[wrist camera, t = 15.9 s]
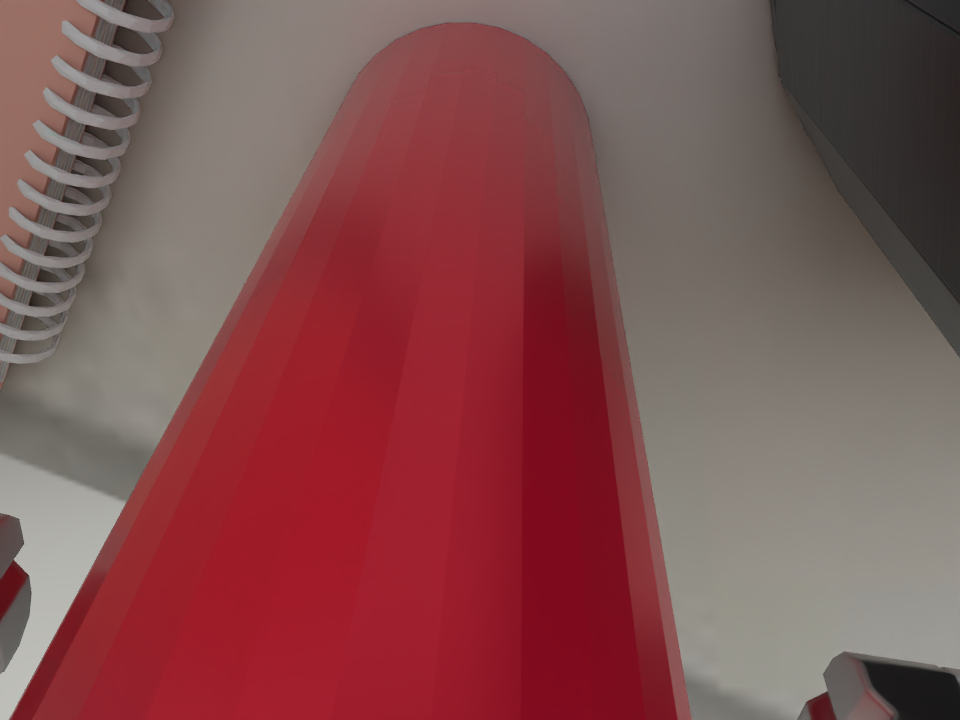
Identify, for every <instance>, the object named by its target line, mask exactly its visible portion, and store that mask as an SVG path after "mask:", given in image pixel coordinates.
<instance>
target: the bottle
mask: <svg viewBox="0 0 960 720" xmlns="http://www.w3.org/2000/svg"><path fill="white" fill-rule="evenodd" d="M9 720H691V714H690V708H689V702H688V696H687V691H686V685H685V679H684V673H683V667H682V661H681V656H680V650H679V644H678V638H677V632H676V627H675V621H674V615H673V609H672V603H671V597H670V592H669V586H668V580H667V574H666V568H665V562H664V557H663V551H662V545H661V539H660V533H659V527H658V522H657V516H656V510H655V504H654V498H653V492H652V487H651V481H650V475H649V469H648V463H647V457H646V452H645V446H644V440H643V434H642V428H641V422H640V417H639V411H638V405H637V399H636V393H635V387H634V382H633V376H632V370H631V364H630V358H629V352H628V347H627V341H626V335H625V329H624V323H623V317H622V312H621V306H620V300H619V294H618V288H617V282H616V277H615V271H614V265H613V259H612V253H611V247H610V242H609V236H608V230H607V224H606V218H605V212H604V207H603V201H602V195H601V189H600V183H599V177H598V172H597V166H596V160H595V154H594V148H593V142H592V137H591V131H590V125H589V119H588V116H587V113H586V111H585V108H584V105H583V103H582V100H581V97H580V95H579V93H578V91H577V90H576V88H575V87H574V85H573V84H572V82H571V80H570V79H569V77H568V76H567V74H566V72H565V71H564V70H563V69H562V68H561V67H560V66H559V65H558V64H557V63H556V62H555V61H554V60H553V59H552V58H551V57H550V56H549V55H548V54H547V53H546V52H544V51H543V50H541V49H540V48H538V47H537V46H535V45H534V44H533V43H531V42H530V41H528V40H527V39H525V38H523V37H520V36H518V35H516V34H513V33H511V32H509V31H506V30H504V29H501V28H498V27H493V26H487V25H482V24H477V23H445V24H440V25H435V26H431V27H426V28H422V29H419V30H417V31H414V32H412V33H410V34H408V35H406V36H403V37H401V38H399V39H397V40H395V41H394V42H393V43H391V44H390V45H388V46H387V47H386V48H384V49H383V50H382V51H380V52H379V53H378V54H376V55H375V56H374V57H373V58H372V60H371V61H370V62H369V63H368V64H367V65H366V66H365V67H364V69H363V70H362V71H361V72H360V73H359V74H358V76H357V78H356V80H355V81H354V83H353V85H352V87H351V89H350V90H349V92H348V94H347V96H346V98H345V99H344V101H343V103H342V105H341V107H340V109H339V110H338V112H337V114H336V116H335V118H334V120H333V122H332V123H331V125H330V127H329V129H328V131H327V133H326V135H325V136H324V138H323V140H322V142H321V144H320V146H319V147H318V149H317V151H316V153H315V155H314V157H313V159H312V160H311V162H310V164H309V166H308V168H307V170H306V172H305V173H304V175H303V177H302V179H301V181H300V183H299V184H298V186H297V188H296V190H295V192H294V194H293V196H292V197H291V199H290V201H289V203H288V205H287V207H286V209H285V210H284V212H283V214H282V216H281V218H280V220H279V221H278V223H277V225H276V227H275V229H274V231H273V233H272V234H271V236H270V238H269V240H268V242H267V244H266V246H265V247H264V249H263V251H262V253H261V255H260V257H259V258H258V260H257V262H256V264H255V266H254V268H253V270H252V271H251V273H250V275H249V277H248V279H247V281H246V283H245V284H244V286H243V288H242V290H241V292H240V294H239V295H238V297H237V299H236V301H235V303H234V305H233V307H232V308H231V310H230V312H229V314H228V316H227V318H226V320H225V321H224V323H223V325H222V327H221V329H220V331H219V332H218V334H217V336H216V338H215V340H214V342H213V344H212V345H211V347H210V349H209V351H208V353H207V355H206V356H205V358H204V360H203V362H202V364H201V366H200V368H199V369H198V371H197V373H196V375H195V377H194V379H193V381H192V382H191V384H190V386H189V388H188V390H187V392H186V393H185V395H184V397H183V399H182V401H181V403H180V405H179V406H178V408H177V410H176V412H175V414H174V416H173V418H172V419H171V421H170V423H169V425H168V427H167V429H166V430H165V432H164V434H163V436H162V438H161V440H160V442H159V443H158V445H157V447H156V449H155V451H154V453H153V455H152V456H151V458H150V460H149V462H148V464H147V466H146V467H145V469H144V471H143V473H142V475H141V477H140V479H139V480H138V482H137V484H136V486H135V488H134V490H133V492H132V493H131V495H130V497H129V499H128V501H127V503H126V504H125V506H124V508H123V510H122V512H121V514H120V516H119V518H118V519H117V521H116V523H115V525H114V527H113V529H112V530H111V532H110V534H109V536H108V538H107V540H106V541H105V543H104V545H103V547H102V549H101V551H100V553H99V554H98V556H97V558H96V560H95V562H94V564H93V566H92V568H91V569H90V571H89V573H88V575H87V577H86V578H85V580H84V582H83V584H82V586H81V588H80V590H79V591H78V593H77V595H76V597H75V599H74V601H73V603H72V604H71V606H70V608H69V610H68V612H67V614H66V616H65V618H64V619H63V621H62V623H61V625H60V627H59V629H58V630H57V632H56V634H55V636H54V638H53V640H52V641H51V643H50V645H49V647H48V649H47V651H46V652H45V654H44V656H43V658H42V660H41V662H40V664H39V665H38V667H37V669H36V671H35V673H34V675H33V677H32V679H31V680H30V682H29V684H28V686H27V688H26V689H25V692H24V693H23V695H22V697H21V699H20V701H19V702H18V704H17V706H16V708H15V710H14V712H13V714H12V716H11V717H10V719H9Z"/></svg>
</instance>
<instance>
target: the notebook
mask: <svg viewBox="0 0 960 720" xmlns="http://www.w3.org/2000/svg"><path fill="white" fill-rule="evenodd" d="M148 1H149V2H150V3H151V4H152V5H153V6H154V7H155V8H156V9H157V10H158V11H159V12H160V13H161V14H162V15H163V16H164V19H161V20H149V19H145V18H141V17H138V16H134V15H131V14H127V13H125V12H123V9H124V6H125V3H126V0H0V390H1V389H2V386H3V383H4V380H5V377H6V374H7V371H8V368H9V365H10V363H17V364H25V363H37V362H39V361H41V360H43V359H45V358H47V357H49V356H51V355H53V354H54V352H55V350H56V348H57V346H58V344H59V342H60V340H61V337H60V334H59V333H60V332H62V330H63V328H64V326H65V324H66V322H67V320H68V315H69V314H68V311H67V310H68V309H70V307H71V305H72V303H73V300H74V298H75V296H76V294H77V291H76V287H75V286H76V285H77V284H78V283H79V282H81V280H82V278H83V275H84V272H85V267H84V263H83V262H84V261H85V260H86V259H88V258H89V257H90V255H91V252H92V249H93V247H94V244H93V241H92V236H94V235H95V234H97V233H98V232H99V229H100V227H101V224H102V221H103V220H102V216H101V213H100V211H101V210H103V209H104V208H106V207H107V206H108V204H109V201H110V199H111V196H112V194H111V190H110V187H109V184H111V183H112V182H114V181H115V180H117V178H118V176H119V173H120V170H121V165H120V162H119V159H118V157H119V156H122V155H124V153H125V151H126V149H127V147H128V145H129V143H130V142H131V138H130V134H129V131H128V129H127V128H129V127H130V126H132V125H134V124H136V123H137V122H138V119H139V116H140V114H141V108H140V105H139V102H138V100H137V98H136V97H140V96H142V95H144V94H146V93H148V91H149V88H150V85H151V83H152V79H151V76H150V73H149V71H148V69H147V68H146V66H150V65H152V64H154V63H156V62H158V61H159V60H160V57H161V54H162V52H163V48H162V45H161V41H160V39H159V38H158V37H157V35H156V34H155V33H162V32H164V31H166V30H168V29H171V26H172V23H173V20H174V18H175V17H174V14H173V10H172V8H171V6H170V5H169V4H168V2H167V1H166V0H148ZM118 25H119V26H122V27H125V28H129V29H131V30H133V31H134V32H136V33H138V34H139V35H140V36H141V37H142V38H143V39H144V40H145V41H146V43H147V44H148V45H149V46H150V47H151V48H152V49H153V52H151V53H148V54H137V53H132V52H128V51H126V50H125V49H123V48H121V47H120V46H118V45H115V44H113V40H114V37H115V34H116V31H117V28H118ZM107 60H110V61H113V62H117V63H120V64H124V65H128V66H129V67H130V68H131V69H132V70H133V71H134V72H135V73H136V74H137V75H138V76H139V77H140V78H141V80H142V84H140V85H138V86H124V85H122V84H121V83H119V82H117V81H116V80H114V79H112V78H111V77H109V76H107V75H104V74H103V71H104V68H105V65H106V62H107ZM96 93H99V94H103V95H107V96H111V97H115V98H119V99H122V100H123V101H124V102H125V103H126V104H127V105H128V106H129V108H130V109H131V110H132V114H131V115H129V116H127V117H124V118H117V117H116V116H115V115H114V114H112V113H111V112H109V111H107V110H105V109H103V108H101V107H100V106H98V105H96V104H94V100H95V96H96ZM86 125H90V126H94V127H99V128H103V129H108V130H115V131H116V133H117V134H118V135H119V136H120V137H121V139H122V143H121V145H118V146H113V147H109V146H108V145H107V144H106V143H105V142H103V141H101V140H100V139H98V138H96V137H95V136H93V135H91V134H89V133H87V132H84V131H85V128H86ZM80 143H83V144H85V145H82V144H80ZM77 155H78V156H83V157H87V158H93V159H98V160H104V159H106V160H107V161H108V162H109V163H110V165H111V166H112V172H111V173H109V174H107V175H105V176H102V175H101V174H100V173H99V172H98V171H97V170H96V169H94V168H92V167H91V166H89V165H87V164H86V163H84V162H82V161H80V160H77V159H76V156H77ZM72 170H75V171H77V172H80V173H82V174H84V175H86V176H84V175H77V174H72V173H71V171H72ZM68 185H72V186H77V187H84V188H99V189H100V190H101V191H102V193H103V199H102V200H100V201H98V202H97V203H95V202H93V201H92V200H91V199H90V198H89V197H88V196H87V195H85V194H84V193H82V192H80V191H78V190H77V189H75V188H73V187H71V186H68ZM63 196H66V197H68V198H71V199H73V200H76V201H78V202H79V203H81V204H82V205H80V204H72V203H63V202H62V199H63ZM70 215H76V216H87V215H91V216H92V217H93V218H94V225H93V226H91V227H90V228H88V229H87V228H86V227H85V226H84V225H83V224H82V223H80V222H79V221H78V220H77V219H75V218H73V217H71V216H70ZM55 221H58V222H60V223H63V224H65V225H67V226H69V227H71V228H72V229H74V230H75V232H71V231H60V230H53V227H54V224H55ZM82 240H83V241H84V243H85V244H86V246H85V250H84V251H83V252H82V253H79V252H77V251H76V250H75V249H74V248H73V247H72V246H71V245H70V244H68V243H66V242H70V243H74V242H79V241H82ZM48 245H49V246H52V247H55V248H57V249H60V250H61V251H63V252H64V253H66V254H67V255H68V256H69V257H65V258H62V257H51V256H44V255H45V252H46V249H47V246H48ZM72 266H76V267H77V274H76V275H75V276H74V277H71V276H70V275H69V274H68V273H67V272H66V271H65V270H64V269H63V268H69V267H72ZM40 269H43V270H45V271H48V272H51V273H53V274H54V275H56V276H57V277H59V278H60V279H61V281H62V282H57V283H51V282H37V281H36V280H37V277H38V274H39V271H40ZM67 289H68V290H69V296H68V298H67V300H66V301H65V302H64V301H63V300H62V299H61V297H60V296H59V295H58V294H57V293H59V292H62V291H65V290H67ZM33 292H34V293H37V294H39V295H42V296H44V297H46V298H48V299H49V300H51V301H52V302H53V304H54V306H52V307H34V306H30V305H29V302H30V299H31V296H32V293H33ZM59 313H61V319H60V322H59V324H58V325H57V324H56V322H55V321H53V320H52V319H51V318H50V316H54V315H56V314H59ZM25 315H27V316H32V317H34V318H37V319H39V320H40V321H42V322H43V323H44V324H45V325H46V326H47V328H48V329H46V330H44V331H22V330H21V327H22V324H23V321H24V318H25ZM52 336H53V340H52V345H51V347H49V348H47V349H45V350H43V351H40V352H38V353H36V354H13V352H14V349H15V346H16V343H17V340H18V339H19V340H25V341H32V340H45V339H47V338H49V337H52Z"/></svg>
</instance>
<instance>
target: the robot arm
mask: <svg viewBox="0 0 960 720" xmlns="http://www.w3.org/2000/svg"><path fill="white" fill-rule="evenodd" d="M23 545H24V540H23V535H22V531H21V526H20V521H19V519H18V518H15V517H12V516H10V515H6V514H1V513H0V674H1V673H2V672H4V671H5V669H6V667H7V666H8V664H9V662H10V660H11V659H12V657H13V655H14V653H15V652H16V650H17V648H18V647H19V644H20V641H21V638H22V635H23V632H24V629H25V627H26V624H27V621H28V618H29V613H30V603H31V587H30V579H29V575H28V574H27V573H26V572H24V570H23V569H22V568H21V567H20V566H19V565H18V564H17V563H16V562H15V561H14V558H15V557H16V555H17V554H18V552H19V551H20V549H21V548H22V546H23ZM823 676H824V679H825V682H826V686H827V689H828V691H827V692H825V693H823V694H821V695H819V696H817V697H815V698H813V699H811V700H809V701H807V702H806V704H805V706H804V707H803V709H802V711H801V713H800V715H799V717H798V719H797V720H960V670H959V669H952V668H946V667H938V666H936V665H930V664H924V663H917V662H911V661H904V660H897V659H891V658H884V657H878V656H871V655H865V654H858V653H851V652H843V653H841V654H839V655H838V656H836V657H834V658H833V659H832V661H831V662H830V664H829V666H828V667H827V669H826V670H825V672H824V673H823Z"/></svg>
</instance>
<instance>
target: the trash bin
mask: <svg viewBox="0 0 960 720" xmlns="http://www.w3.org/2000/svg"><path fill="white" fill-rule="evenodd" d="M770 5H771V13H772V22H773V31H774V39H775V46H776V50H777V54H778V71H779V77H780V78H781V83H782V85H783V87H784V89H785V90H786V92H787V94H788V96H789V98H790V100H791V102H792V104H793V106H794V108H795V110H796V112H797V115H798V117H799V119H800V122H801V124H802V126H803V129H804V130H805V132H806V134H807V135H808V137H809V138H810V140H811V141H812V143H813V145H814V146H815V148H816V150H817V151H818V153H819V155H820V157H821V159H822V161H823V163H824V165H825V167H826V169H827V171H828V172H829V174H830V176H831V178H832V180H833V182H834V184H835V186H836V188H837V190H838V191H839V193H840V194H841V195H842V197H843V198H844V199H845V201H846V202H847V204H848V205H849V206H850V208H851V209H852V210H853V212H854V213H855V215H856V216H857V217H858V219H859V220H860V221H861V223H862V224H863V226H864V227H865V228H866V230H867V231H868V232H869V234H870V235H871V236H872V238H873V239H874V241H875V242H876V243H877V245H878V246H879V247H880V249H881V250H882V252H883V253H884V254H885V256H886V257H887V258H888V260H889V261H890V263H891V264H892V265H893V267H894V268H895V269H896V271H897V272H898V274H899V275H900V276H901V278H902V279H903V280H904V282H905V283H906V285H907V286H908V287H909V289H910V290H911V291H912V293H913V294H914V296H915V297H916V298H917V300H918V301H919V302H920V304H921V305H922V306H923V308H924V309H925V311H926V312H927V313H928V315H929V316H930V317H931V319H932V320H933V322H934V323H935V324H936V326H937V327H938V328H939V330H940V331H941V333H942V334H943V335H944V337H945V338H946V339H947V341H948V342H949V344H950V345H951V346H952V348H953V349H954V350H955V352H956V353H957V355H958V356H959V357H960V0H770Z"/></svg>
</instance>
